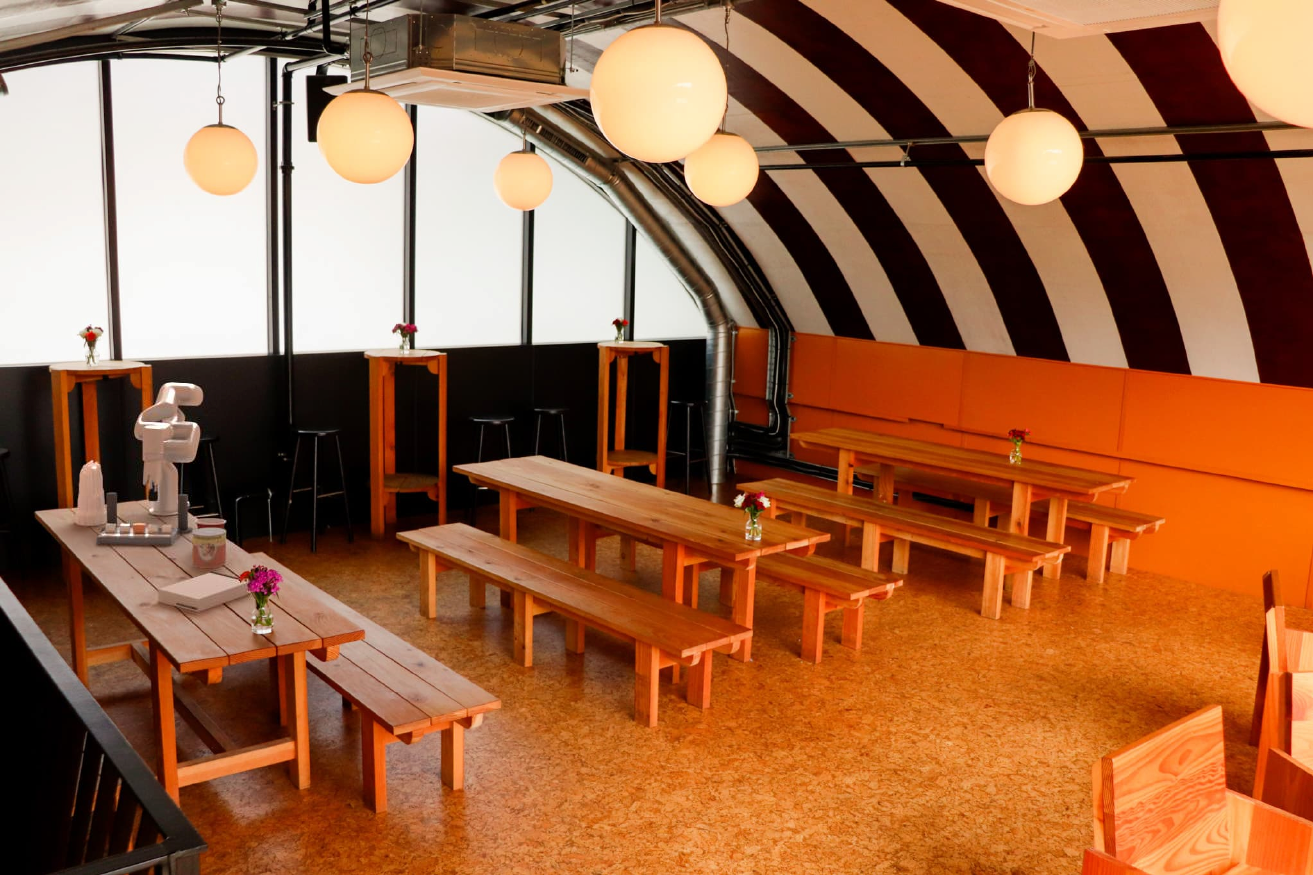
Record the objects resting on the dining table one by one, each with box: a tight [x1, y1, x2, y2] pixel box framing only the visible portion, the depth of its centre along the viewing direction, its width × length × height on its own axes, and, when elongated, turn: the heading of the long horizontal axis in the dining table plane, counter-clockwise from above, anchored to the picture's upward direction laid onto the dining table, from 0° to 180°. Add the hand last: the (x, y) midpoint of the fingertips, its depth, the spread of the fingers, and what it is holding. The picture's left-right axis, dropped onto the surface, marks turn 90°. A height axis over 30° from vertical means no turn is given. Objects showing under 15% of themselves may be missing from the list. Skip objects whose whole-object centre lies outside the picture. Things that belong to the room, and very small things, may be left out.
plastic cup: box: [194, 517, 227, 529], centre depth 394 cm, size 11×11×12 cm
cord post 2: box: [177, 493, 193, 535], centre depth 416 cm, size 7×7×15 cm
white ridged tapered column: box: [75, 459, 107, 527], centre depth 417 cm, size 11×11×25 cm
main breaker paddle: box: [132, 522, 147, 532], centre depth 401 cm, size 2×4×3 cm, turn 103°
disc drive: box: [157, 571, 250, 613], centre depth 344 cm, size 18×22×5 cm
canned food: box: [192, 528, 227, 569], centre depth 379 cm, size 11×11×12 cm
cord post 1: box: [101, 492, 120, 533], centre depth 410 cm, size 7×7×15 cm
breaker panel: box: [96, 523, 181, 546], centre depth 401 cm, size 14×26×6 cm, turn 103°
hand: (153, 500), depth 421 cm, fingers closed
